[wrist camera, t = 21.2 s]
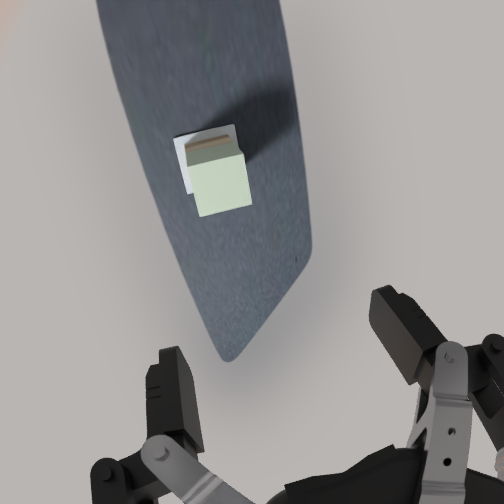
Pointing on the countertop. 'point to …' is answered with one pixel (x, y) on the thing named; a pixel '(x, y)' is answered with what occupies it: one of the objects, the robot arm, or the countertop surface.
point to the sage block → (218, 178)
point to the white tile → (199, 136)
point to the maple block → (207, 143)
